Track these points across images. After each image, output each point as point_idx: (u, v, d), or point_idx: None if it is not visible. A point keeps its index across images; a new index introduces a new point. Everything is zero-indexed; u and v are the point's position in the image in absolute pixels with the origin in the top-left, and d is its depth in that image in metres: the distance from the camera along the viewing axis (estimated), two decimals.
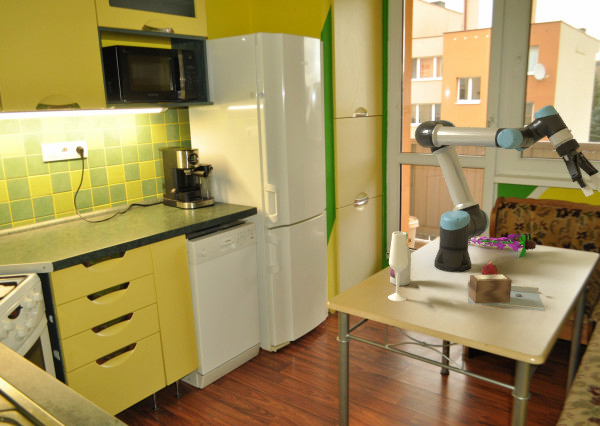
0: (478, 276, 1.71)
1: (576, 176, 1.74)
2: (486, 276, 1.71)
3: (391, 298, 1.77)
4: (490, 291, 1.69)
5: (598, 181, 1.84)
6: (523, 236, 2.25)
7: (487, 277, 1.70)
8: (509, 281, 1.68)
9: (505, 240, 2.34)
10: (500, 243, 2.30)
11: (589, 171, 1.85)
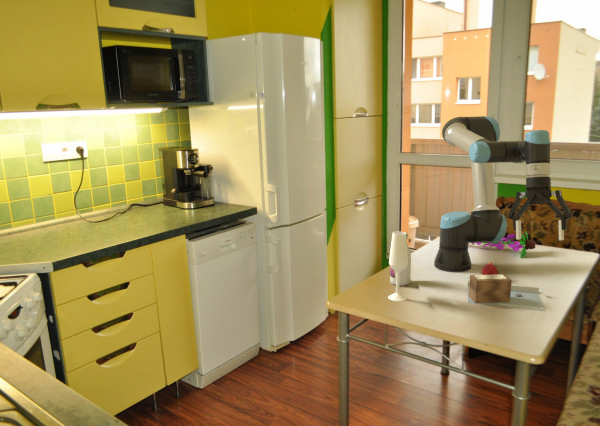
0: (478, 276, 1.71)
1: None
2: (486, 276, 1.71)
3: (391, 298, 1.77)
4: (490, 291, 1.69)
5: None
6: (523, 236, 2.25)
7: (487, 277, 1.70)
8: (509, 281, 1.68)
9: (504, 240, 2.34)
10: (500, 243, 2.30)
11: None
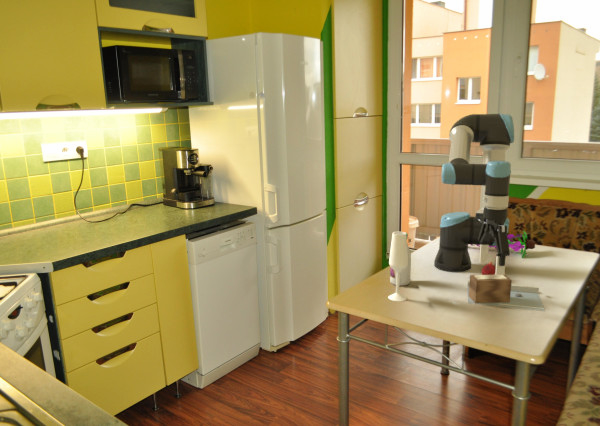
0: (478, 276, 1.71)
1: None
2: (486, 276, 1.71)
3: (391, 298, 1.77)
4: (490, 291, 1.69)
5: None
6: (523, 236, 2.25)
7: (487, 277, 1.70)
8: (509, 281, 1.68)
9: None
10: None
11: None
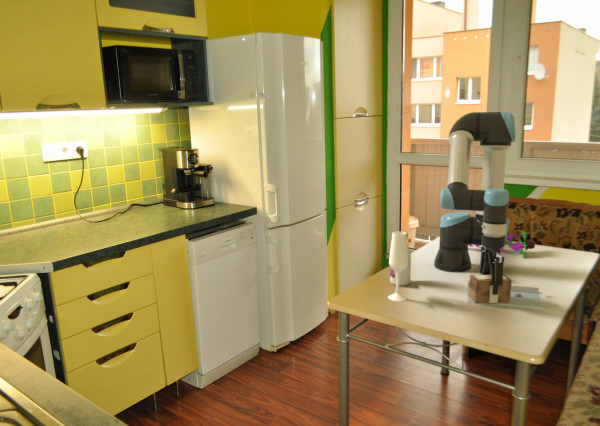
0: (478, 276, 1.71)
1: None
2: (486, 276, 1.71)
3: (391, 298, 1.77)
4: None
5: None
6: (524, 236, 2.24)
7: (487, 277, 1.70)
8: (509, 281, 1.68)
9: None
10: None
11: None
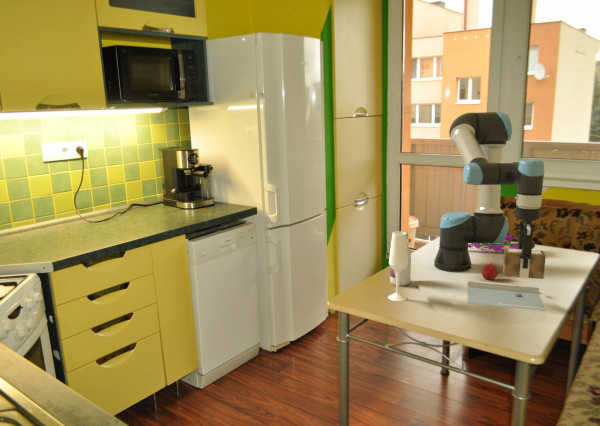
0: (511, 249, 1.68)
1: None
2: (520, 250, 1.67)
3: (391, 298, 1.77)
4: None
5: None
6: None
7: (520, 251, 1.66)
8: (543, 256, 1.62)
9: (501, 242, 2.32)
10: (501, 245, 2.26)
11: None
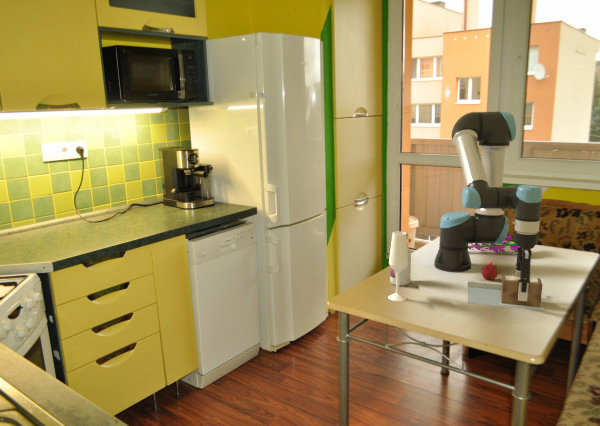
0: (509, 277, 1.70)
1: None
2: (517, 278, 1.69)
3: (391, 298, 1.77)
4: None
5: None
6: None
7: (517, 279, 1.68)
8: (539, 285, 1.64)
9: None
10: (502, 246, 2.25)
11: None
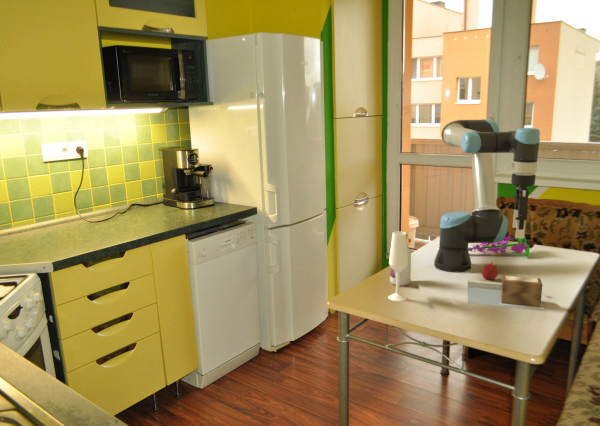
0: (509, 277, 1.70)
1: None
2: (517, 278, 1.69)
3: (391, 298, 1.77)
4: (518, 293, 1.67)
5: None
6: (524, 236, 2.24)
7: (517, 279, 1.68)
8: (539, 285, 1.64)
9: (500, 243, 2.30)
10: (504, 247, 2.24)
11: None
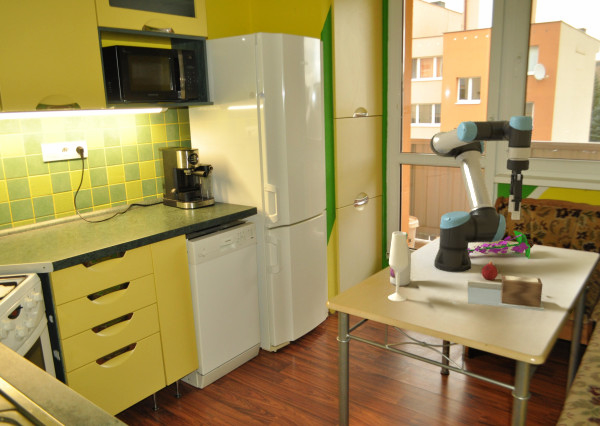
0: (509, 277, 1.70)
1: None
2: (517, 278, 1.69)
3: (391, 298, 1.77)
4: (518, 293, 1.67)
5: None
6: None
7: (517, 279, 1.68)
8: (539, 285, 1.64)
9: (500, 244, 2.29)
10: (505, 248, 2.23)
11: None
